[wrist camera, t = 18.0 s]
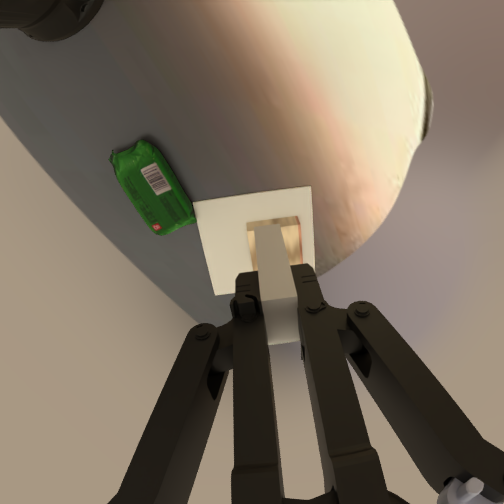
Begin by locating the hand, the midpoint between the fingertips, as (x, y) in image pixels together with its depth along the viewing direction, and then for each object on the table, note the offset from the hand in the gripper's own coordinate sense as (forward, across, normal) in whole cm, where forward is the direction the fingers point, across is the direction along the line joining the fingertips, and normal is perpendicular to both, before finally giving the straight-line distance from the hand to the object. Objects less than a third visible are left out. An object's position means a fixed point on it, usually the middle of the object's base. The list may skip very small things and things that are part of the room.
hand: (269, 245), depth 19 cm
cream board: (+29, -1, -17) cm, 34 cm away
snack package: (+30, -15, -4) cm, 34 cm away
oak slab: (+28, -2, -18) cm, 33 cm away
